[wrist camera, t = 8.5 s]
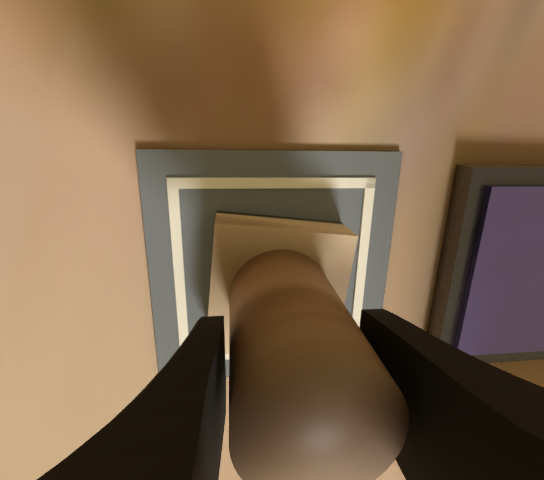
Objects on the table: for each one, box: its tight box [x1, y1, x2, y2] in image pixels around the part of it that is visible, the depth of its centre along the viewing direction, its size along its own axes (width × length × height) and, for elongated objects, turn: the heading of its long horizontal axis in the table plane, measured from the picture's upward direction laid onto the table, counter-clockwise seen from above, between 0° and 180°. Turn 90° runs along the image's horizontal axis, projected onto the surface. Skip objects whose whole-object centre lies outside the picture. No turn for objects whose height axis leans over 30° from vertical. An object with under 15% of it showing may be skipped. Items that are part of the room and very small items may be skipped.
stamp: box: [208, 211, 409, 480], centre depth 10 cm, size 5×5×8 cm
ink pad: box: [427, 165, 544, 363], centre depth 15 cm, size 9×9×1 cm
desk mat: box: [136, 149, 402, 377], centre depth 14 cm, size 10×10×1 cm
